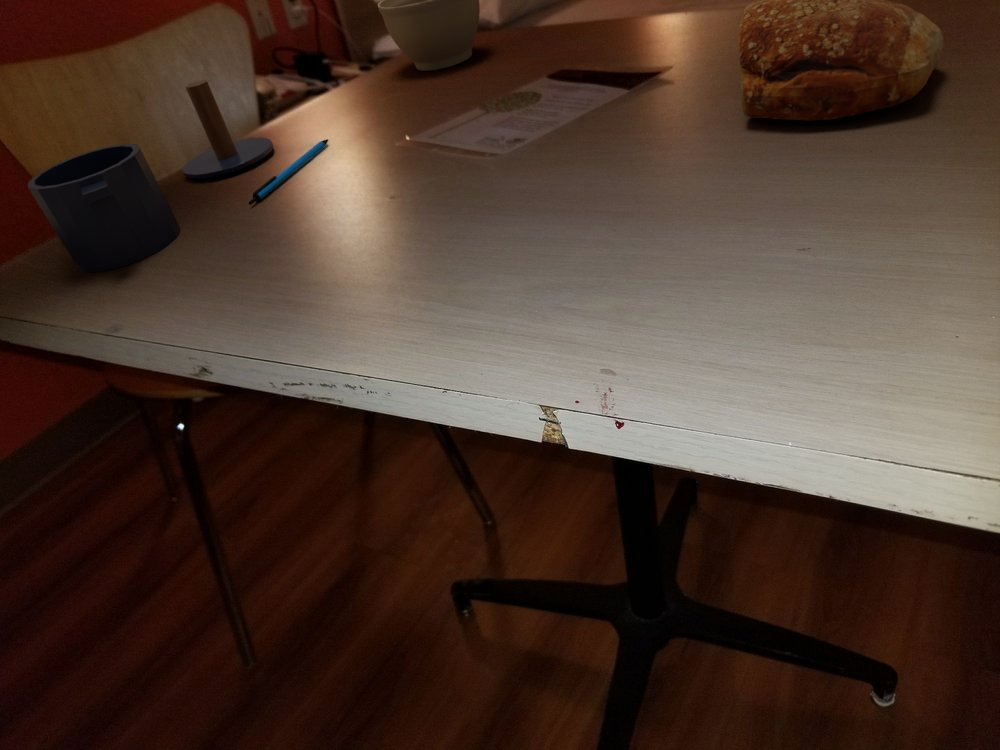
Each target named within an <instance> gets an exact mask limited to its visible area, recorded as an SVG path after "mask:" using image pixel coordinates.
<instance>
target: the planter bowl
mask: <svg viewBox="0 0 1000 750" xmlns="http://www.w3.org/2000/svg"><path fill="white" fill-rule="evenodd" d="M480 6H481V5H480V0H381V1H380V2H378V3H377V8H378V11H379V13H380V15H381V16H382V19H383V22H384V26H385V28H386V30H387V32H388V33H389V35H390V37H391V39H392V41H393V42H394V43H395V45H396V46H397V47H398V49H400V51H401V52H402V54H404V55H405V56H406V57H408V58H409V59H410V60H411V61H412V62H413V64H414V66H415V68H416V69H417V70H418V71H422V72H423V71H424V72H429V71H430V72H431V71H437V70H442V69H447V68H450V67H453V66H456V65H459V64H462V63H463V62H466V61H467V60H469V58H471V57H472V55H473V48H472V46H473V43H474V41H475V39H476V36H477V33H478V29H479V23H480V22H479V21H480V14H481V13H480V11H481V8H480Z"/></svg>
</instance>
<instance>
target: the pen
mask: <svg viewBox="0 0 1000 750" xmlns="http://www.w3.org/2000/svg"><path fill="white" fill-rule="evenodd" d="M328 142H329V139H328V138H327V139H324V140H323V139H322V140H321V141H319V142H317V143H316V144H315V145H314V146H312V147H311V148H310V149H309V150H308V151H306V152H305V153H304V154H303V155H301V156H300V157H298V159H296V160H295V161H294V162H292V164H290V165H289V166H288V167H286V168H285V169H284V170H282V171H281V172H280V173H278V175H274V176H272V177H271V178H269V179H268V180H267V181H265V183H263V184H262V185H261V186H260V187H258V188H257V189H256V190H255V191H254V192H252V199H250V200H249V201H248V204H249V205H250V206H251V205H252V204H254V203H256V202H257V203H259V202H260V201H262V199H264V198H265V197H266V196H267V195H269V194H270V193H271V192H272V191H274V190H275V189H276V188H277V187H278V186H279V185H281V184H282V183H283V182H284V181H286V180H287V179H288V178H290V176H292V175H293V174H294V173H295V172H296V171H298V170H299V169H300V168H301V167H303V166H304V165H305V164H306V163H307V162H309V161H310V160H311V159H313V157H315V156H316V155H317V154H318V153H319V152H320V151H322V150H323V149H324V148H325V147H326V145H327V144H328Z"/></svg>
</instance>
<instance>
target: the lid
mask: <svg viewBox="0 0 1000 750" xmlns="http://www.w3.org/2000/svg"><path fill="white" fill-rule="evenodd" d="M185 90H186V92H187V95H188V97H189V98H190V101H191V103H192V106H193V107H194V110H195V112H196V114H197V116H198V119H199V121H200V123H201V125H202V127H203V131H204V132H205V135H206V136H207V139H208V141H209V144H210V146H211V148H209V149H207V150H206V151H203V152H201V153H199V154H197V155H196V156H194V157H192V158H190V159H189V160H188V161H186V163H184V165H183V166H182V168H181V171H182V173H183V176H184V177H186V178H188V179H207V178H214V177H215V178H216V177H222V176H225V175H229V174H232V173H236V172H238V171H241V170H243V169H246V168H247V167H250V166H251V165H254V164H255V163H257V162H258V161H260V160H262V159H264V158H265V157H267V155H270V153H272V151H273V150H274V143H273V141H272V140H271V139H270V138H268V137H249V138H243V139H242V138H241V139H238V140H233V138H232V136H231V134H230V133H231V132H230V131H229V128H228V127H227V124H226V121H225V120H224V117H223V115H222V112H221V110H220V108H219V105H218V104H217V103H218V102H217V101H216V99H215V96H214V94H213V91H212V88H211V86H210V84H209V81H208V80H207V79H201V80H198V81H197V80H196V81H193V82H191V83H188V84H187V85H185Z"/></svg>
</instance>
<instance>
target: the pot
mask: <svg viewBox="0 0 1000 750" xmlns="http://www.w3.org/2000/svg"><path fill="white" fill-rule="evenodd" d="M27 188H28V190H29V192H30V193H31V195H32V197H33V198H34V200H35V201H36V203H37V204H38V206H39V208H40V209H41V211H42V213H43V214H44V216H45V217H46V220H47V221H48V222H49V224H50V225H51V227H52V229H53V231H54V232H55V233H56V235H57V237H58V239H59V240H60V242H61V243H62V245H63V247H64V249H65V250H66V252H67V253H68V255H69V257H71V259H72V262H73V263H74V264H75V265H76V266H77V268H78V269H79V270H80V271H82V272H88V273H97V272H99V273H100V272H106V271H111V270H115V269H118V268H122V267H125V266H129V265H131V264H134V263H137V262H139V261H141V260H145V259H146V258H148V257H151V256H152V255H154V254H155V253H158V252H159V251H160V250H162V249H164V248H165V247H167V246H168V245H170V244H171V243H172V242H173V241H174V240H175V239H176V238H177V237H178V235H179V234H180V231H181V227H180V225H179V222H178V221H177V218H176V216H175V214H174V212H173V210H172V208H171V206H170V204H169V203H168V201H167V198H166V197H165V195H164V193H163V191H162V189H161V187H160V184H159V182H158V180H157V179H156V177H155V175H154V173H153V171H152V169H151V167H150V165H149V163H148V160H147V159H146V157H145V156H144V153H143V151H142V149H141V147H140V146H139V145H138V144H137V143H120V144H119V143H118V144H114V145H113V144H112V145H108V146H104V147H101V148H95V149H93V150H89V151H86V152H83V153H80V154H78V155H77V154H76V155H75V156H72V157H69V158H67V159H64V160H61V161H60V162H57V163H55V164H53V165H51V166H48V167H47V168H46V169H44V170H42V171H40V172H39V173H37V174H35V175H34V176H33V177H32V178H31V179H30V180H29V181H28V182H27Z"/></svg>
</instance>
